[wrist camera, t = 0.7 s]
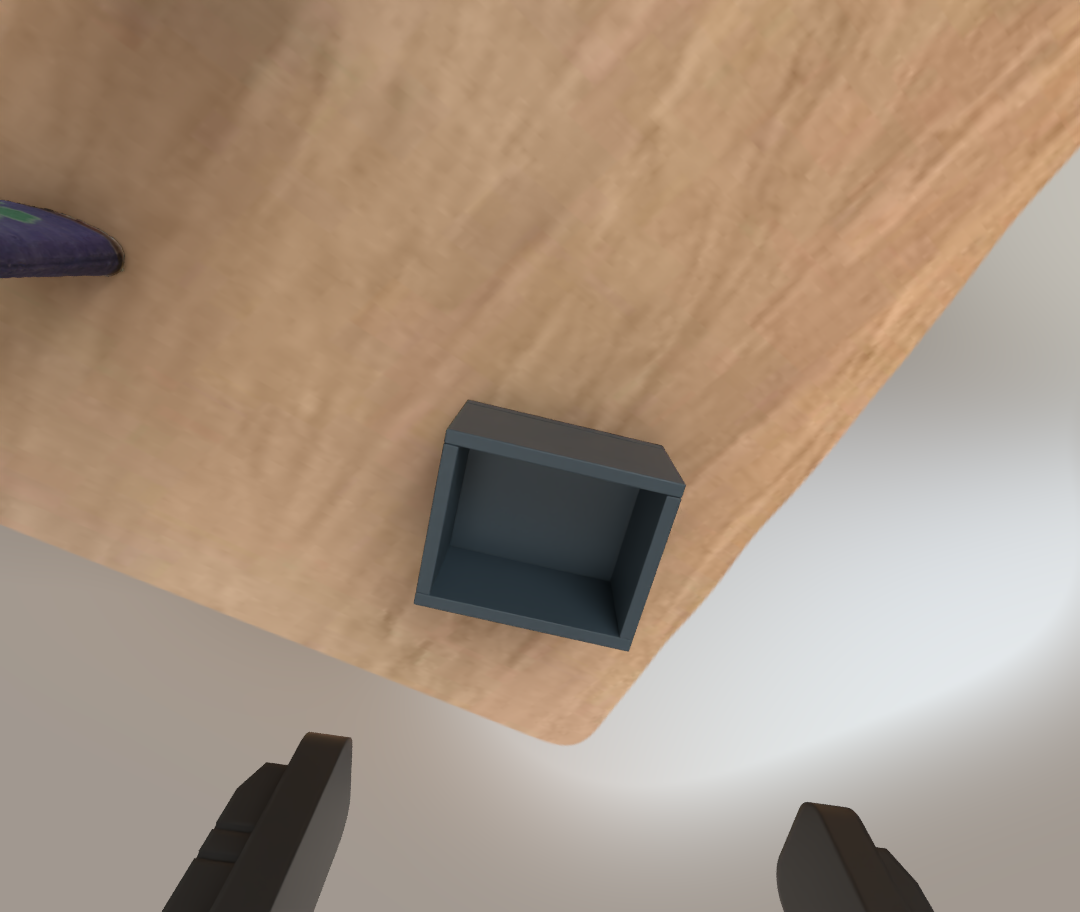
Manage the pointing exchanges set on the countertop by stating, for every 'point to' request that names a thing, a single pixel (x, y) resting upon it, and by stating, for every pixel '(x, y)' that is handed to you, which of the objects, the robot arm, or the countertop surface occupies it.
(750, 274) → the countertop surface
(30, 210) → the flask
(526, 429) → the box
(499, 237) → the countertop surface
